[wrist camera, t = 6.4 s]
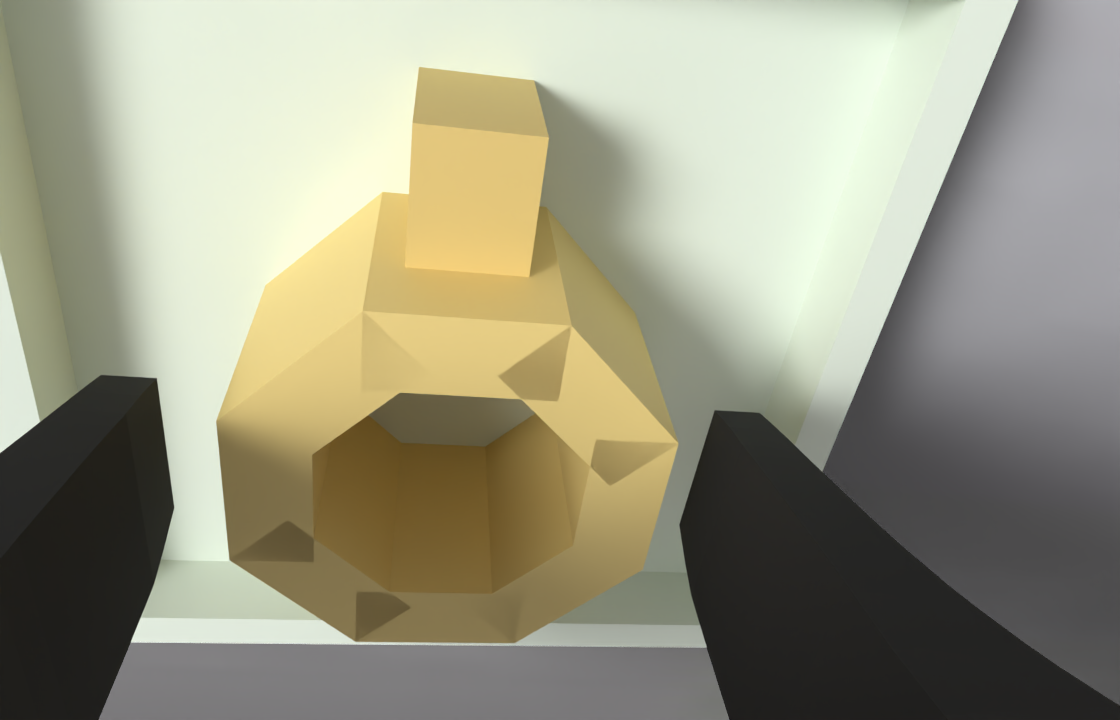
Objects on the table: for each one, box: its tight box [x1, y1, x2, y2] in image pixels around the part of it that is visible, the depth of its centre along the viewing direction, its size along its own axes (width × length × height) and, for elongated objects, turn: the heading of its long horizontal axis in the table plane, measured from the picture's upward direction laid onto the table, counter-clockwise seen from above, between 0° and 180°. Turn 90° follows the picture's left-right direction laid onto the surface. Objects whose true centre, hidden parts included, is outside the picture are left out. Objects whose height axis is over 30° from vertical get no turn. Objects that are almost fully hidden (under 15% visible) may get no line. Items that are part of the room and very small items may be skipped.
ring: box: [216, 67, 679, 643], centre depth 11 cm, size 5×7×3 cm
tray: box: [0, 0, 1018, 648], centre depth 12 cm, size 12×12×2 cm
